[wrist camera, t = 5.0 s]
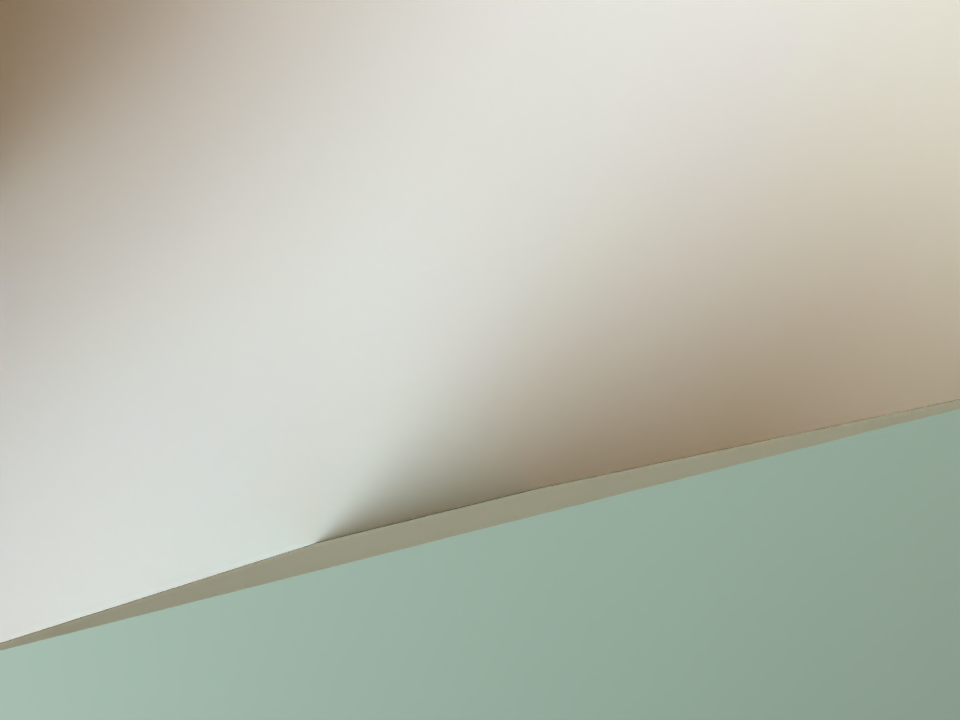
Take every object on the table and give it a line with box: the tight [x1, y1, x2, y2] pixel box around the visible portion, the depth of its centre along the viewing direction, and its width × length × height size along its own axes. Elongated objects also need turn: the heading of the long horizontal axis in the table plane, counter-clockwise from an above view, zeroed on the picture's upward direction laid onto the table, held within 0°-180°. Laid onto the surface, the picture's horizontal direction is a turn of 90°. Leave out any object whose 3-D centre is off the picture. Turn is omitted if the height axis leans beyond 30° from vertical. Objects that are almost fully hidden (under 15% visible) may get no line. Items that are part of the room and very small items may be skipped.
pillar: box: [0, 399, 960, 720], centre depth 8 cm, size 4×4×13 cm
